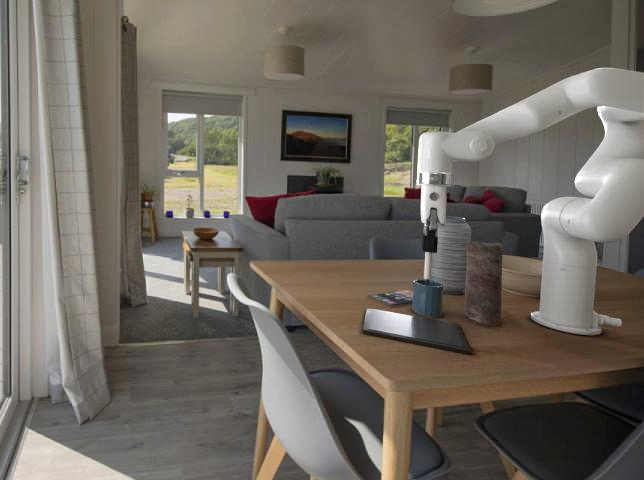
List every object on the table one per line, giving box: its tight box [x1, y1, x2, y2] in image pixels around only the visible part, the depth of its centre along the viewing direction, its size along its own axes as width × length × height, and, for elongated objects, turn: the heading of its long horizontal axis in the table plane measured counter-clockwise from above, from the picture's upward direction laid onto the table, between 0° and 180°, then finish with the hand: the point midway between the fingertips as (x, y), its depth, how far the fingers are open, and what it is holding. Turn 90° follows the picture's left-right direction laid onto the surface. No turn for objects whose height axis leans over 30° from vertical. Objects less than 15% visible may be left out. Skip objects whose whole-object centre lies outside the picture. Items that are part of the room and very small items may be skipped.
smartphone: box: [368, 289, 413, 306], centre depth 112 cm, size 8×15×1 cm, turn 111°
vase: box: [423, 215, 472, 296], centre depth 122 cm, size 12×12×23 cm
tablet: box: [362, 307, 472, 355], centre depth 91 cm, size 20×16×1 cm
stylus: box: [423, 252, 432, 284], centre depth 101 cm, size 2×2×14 cm
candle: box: [464, 240, 504, 326], centre depth 97 cm, size 8×7×20 cm
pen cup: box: [411, 278, 444, 317], centre depth 102 cm, size 7×7×8 cm
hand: (429, 250), depth 101 cm, fingers closed on stylus, 1 cm apart
